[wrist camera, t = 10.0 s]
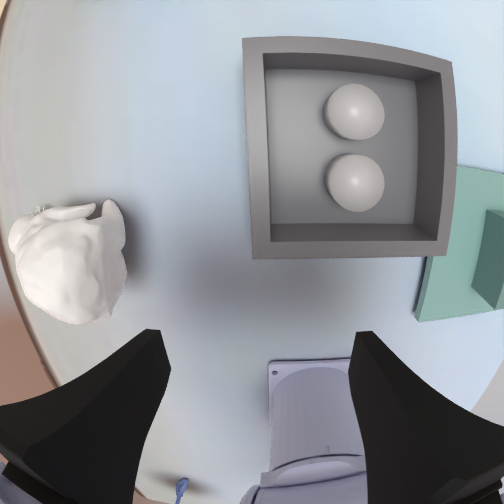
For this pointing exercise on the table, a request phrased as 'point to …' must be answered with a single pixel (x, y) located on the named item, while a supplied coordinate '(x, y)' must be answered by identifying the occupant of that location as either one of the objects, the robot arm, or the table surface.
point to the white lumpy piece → (71, 260)
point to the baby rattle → (180, 492)
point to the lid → (468, 252)
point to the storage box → (348, 149)
